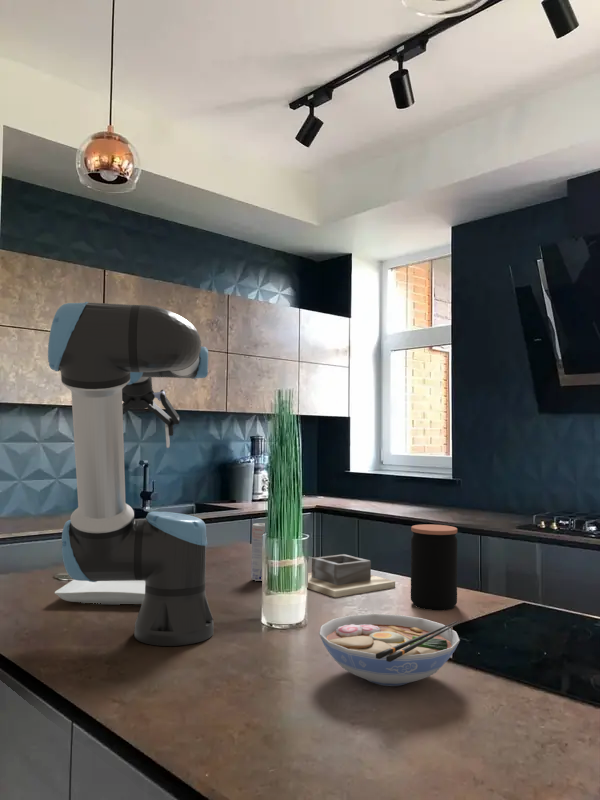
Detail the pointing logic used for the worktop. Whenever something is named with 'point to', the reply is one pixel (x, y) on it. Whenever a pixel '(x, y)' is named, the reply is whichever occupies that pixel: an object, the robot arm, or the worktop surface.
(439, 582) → the coffee jar
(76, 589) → the square plate
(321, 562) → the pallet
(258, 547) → the beverage can
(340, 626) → the ramen bowl
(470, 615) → the worktop surface
